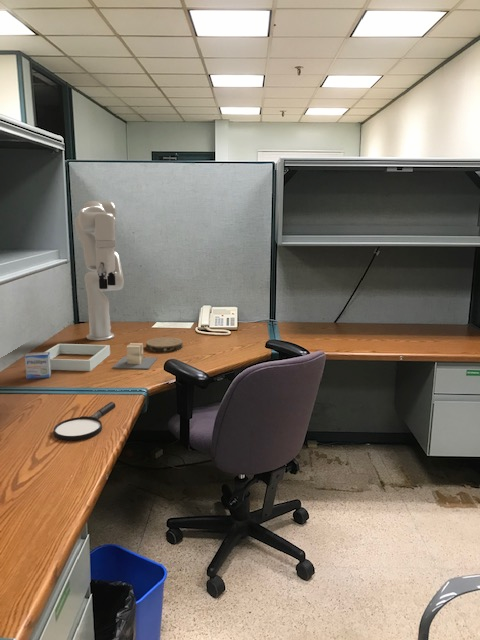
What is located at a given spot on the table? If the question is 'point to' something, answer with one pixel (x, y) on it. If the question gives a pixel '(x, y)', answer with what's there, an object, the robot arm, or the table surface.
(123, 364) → the mat
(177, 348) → the tambourine
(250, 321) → the table surface
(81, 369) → the white shallow tray
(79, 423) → the magnifying glass
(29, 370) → the medicine box
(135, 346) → the maple block
